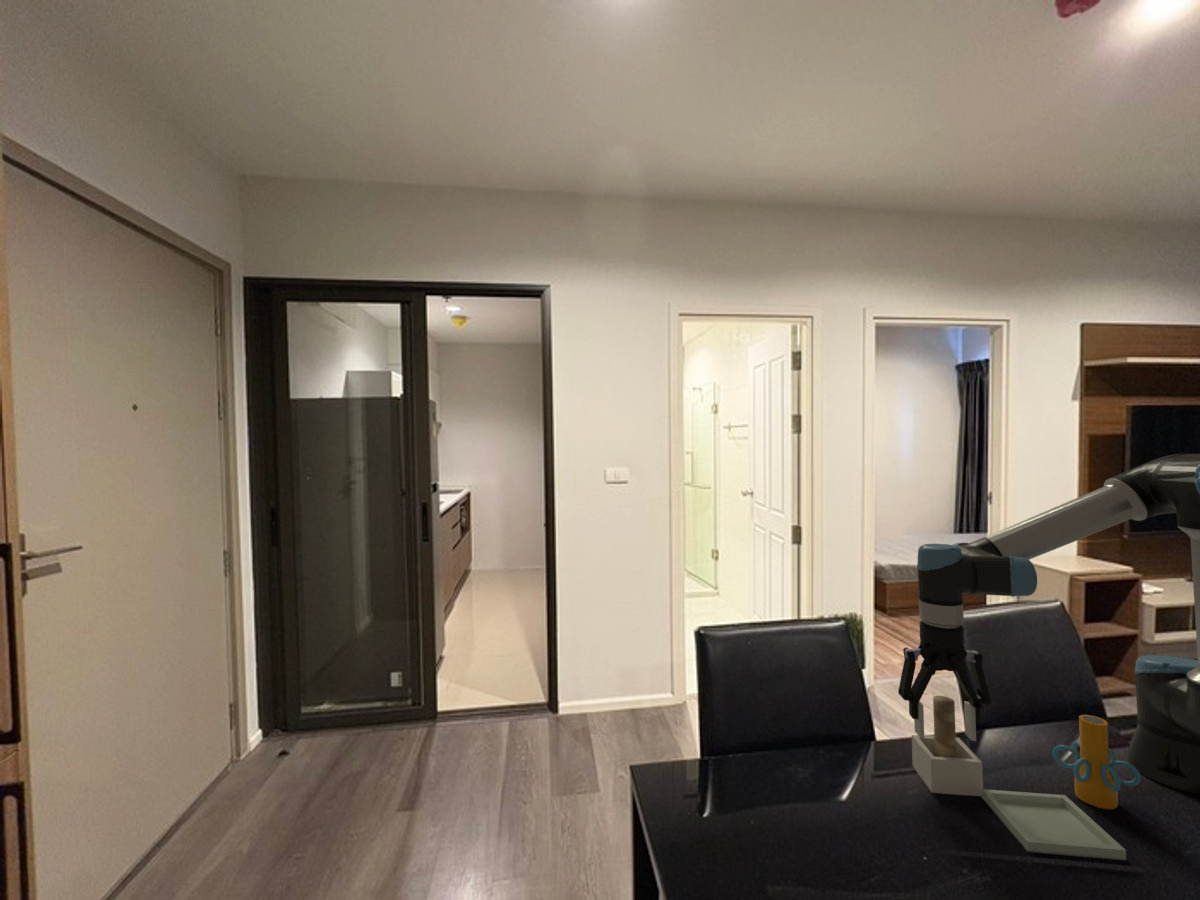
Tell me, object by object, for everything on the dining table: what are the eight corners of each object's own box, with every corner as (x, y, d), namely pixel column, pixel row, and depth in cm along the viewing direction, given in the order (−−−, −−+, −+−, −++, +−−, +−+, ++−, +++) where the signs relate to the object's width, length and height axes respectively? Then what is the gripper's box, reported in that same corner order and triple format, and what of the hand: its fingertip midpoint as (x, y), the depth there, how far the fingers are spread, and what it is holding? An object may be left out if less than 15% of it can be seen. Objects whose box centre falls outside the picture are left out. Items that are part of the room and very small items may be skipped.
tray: (1065, 807, 99) (1065, 795, 99) (1126, 864, 85) (1125, 850, 85) (981, 800, 101) (981, 789, 101) (1028, 855, 88) (1027, 841, 88)
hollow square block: (959, 771, 111) (958, 737, 111) (983, 799, 102) (982, 762, 102) (912, 768, 112) (911, 735, 112) (931, 795, 103) (930, 759, 103)
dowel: (951, 775, 108) (949, 696, 109) (960, 786, 105) (958, 704, 105) (932, 774, 109) (929, 695, 109) (940, 785, 105) (937, 703, 106)
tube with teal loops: (1155, 825, 94) (1152, 739, 94) (1086, 818, 96) (1083, 734, 96) (1105, 783, 106) (1102, 706, 106) (1044, 778, 108) (1042, 703, 108)
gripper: (989, 618, 109) (993, 729, 109) (877, 615, 113) (880, 723, 113) (1011, 630, 102) (1015, 749, 102) (890, 626, 105) (894, 742, 105)
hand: (944, 735), depth 107 cm, fingers open, 9 cm apart
